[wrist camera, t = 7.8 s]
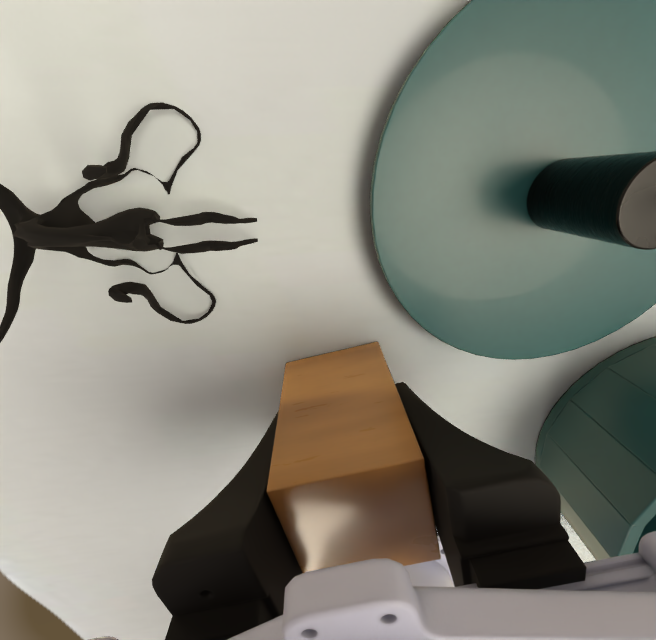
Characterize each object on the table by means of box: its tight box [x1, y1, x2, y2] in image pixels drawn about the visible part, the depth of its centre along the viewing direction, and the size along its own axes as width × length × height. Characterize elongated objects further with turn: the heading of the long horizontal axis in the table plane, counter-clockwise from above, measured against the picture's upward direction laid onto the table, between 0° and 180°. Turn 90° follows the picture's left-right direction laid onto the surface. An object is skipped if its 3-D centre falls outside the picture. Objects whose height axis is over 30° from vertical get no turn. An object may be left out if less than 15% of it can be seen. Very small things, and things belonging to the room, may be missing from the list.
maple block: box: [267, 342, 441, 573], centre depth 13 cm, size 4×4×7 cm
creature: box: [0, 103, 258, 343], centre depth 11 cm, size 8×5×8 cm
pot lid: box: [370, 0, 656, 360], centre depth 11 cm, size 14×14×5 cm
